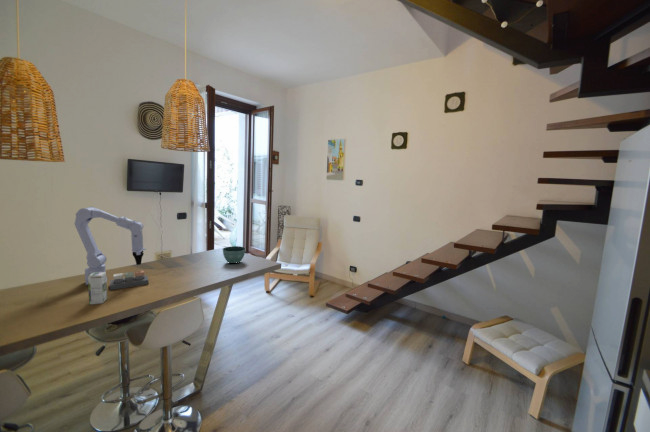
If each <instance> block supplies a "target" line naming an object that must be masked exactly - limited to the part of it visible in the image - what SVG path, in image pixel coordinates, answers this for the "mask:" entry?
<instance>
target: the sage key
mask: <svg viewBox="0 0 650 432" xmlns="http://www.w3.org/2000/svg"><path fill="white" fill-rule="evenodd" d="M123 277H124V278H126V282H128V281H133V277H135V271H129V272H124V273H123Z"/></svg>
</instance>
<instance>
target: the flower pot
mask: <svg viewBox="0 0 650 432" xmlns="http://www.w3.org/2000/svg"><path fill="white" fill-rule="evenodd" d="M245 252H246V247H244V246H240V245H239V246H237V245H236V246H235V245H234V246H233V245H232V246H231V245H230V246H225V247H223V248H222V254H223V257H224V260H225V261H226V263H227V262H229V263H236V262H240V261H241V262H242V260H243V258H244V257H245ZM241 262H240V263H241Z"/></svg>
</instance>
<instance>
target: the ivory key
mask: <svg viewBox="0 0 650 432" xmlns="http://www.w3.org/2000/svg"><path fill="white" fill-rule="evenodd" d="M112 278H113V280H115V283H122V282H123V278H124V273H123V272H122V273H121V272H120V273H113V277H112Z"/></svg>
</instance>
